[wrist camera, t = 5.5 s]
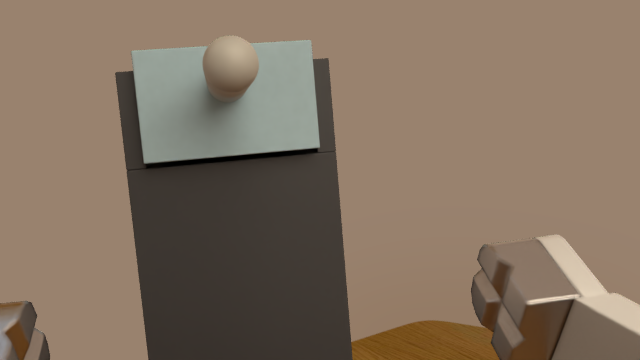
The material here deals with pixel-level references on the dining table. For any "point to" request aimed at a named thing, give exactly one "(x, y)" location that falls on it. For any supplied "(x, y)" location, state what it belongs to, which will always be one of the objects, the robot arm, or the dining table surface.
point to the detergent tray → (225, 124)
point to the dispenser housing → (240, 247)
